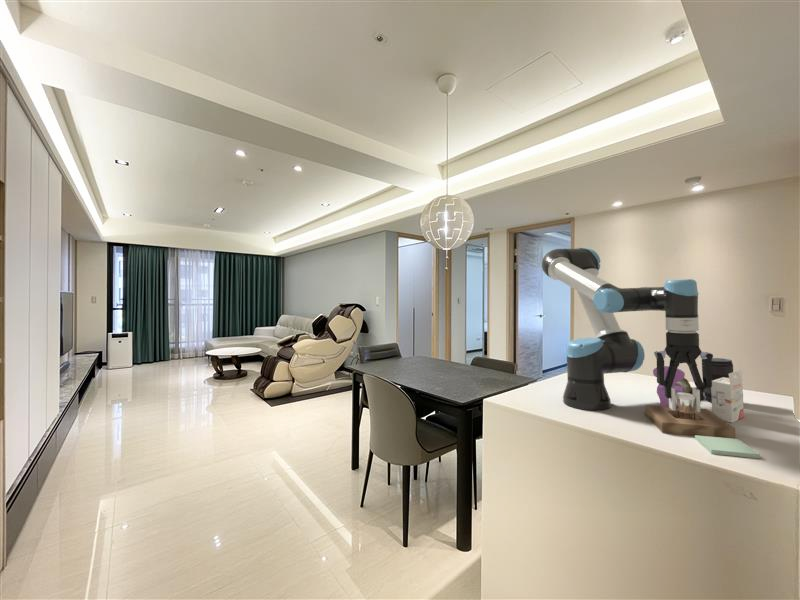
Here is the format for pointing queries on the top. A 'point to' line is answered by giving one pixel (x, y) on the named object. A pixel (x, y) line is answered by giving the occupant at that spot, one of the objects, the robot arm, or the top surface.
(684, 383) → the ceramic sculpture
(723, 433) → the pocket block
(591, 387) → the robot arm
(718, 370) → the camera lens
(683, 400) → the milkshake
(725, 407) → the ink cartridge box
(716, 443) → the mat
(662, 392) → the toy chair
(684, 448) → the top surface
